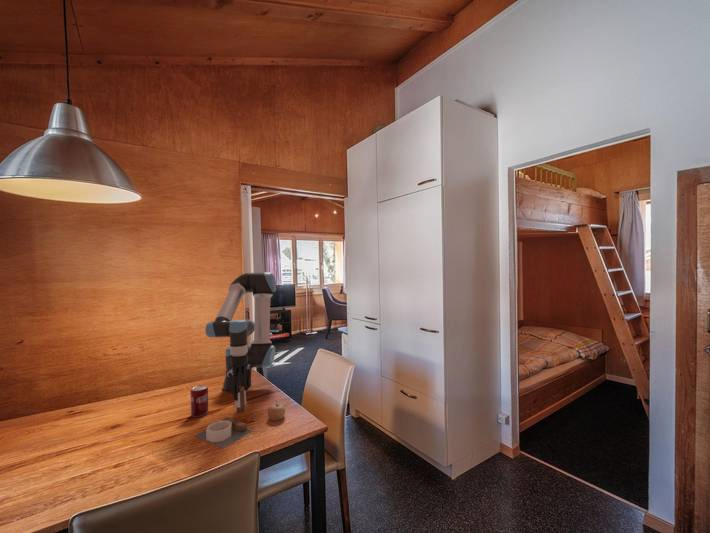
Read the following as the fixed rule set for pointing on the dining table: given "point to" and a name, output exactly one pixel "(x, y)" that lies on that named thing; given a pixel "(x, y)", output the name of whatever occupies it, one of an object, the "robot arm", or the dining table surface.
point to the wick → (237, 425)
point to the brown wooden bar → (241, 400)
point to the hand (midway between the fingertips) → (240, 405)
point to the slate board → (226, 442)
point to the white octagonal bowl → (219, 431)
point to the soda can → (199, 401)
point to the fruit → (276, 412)
